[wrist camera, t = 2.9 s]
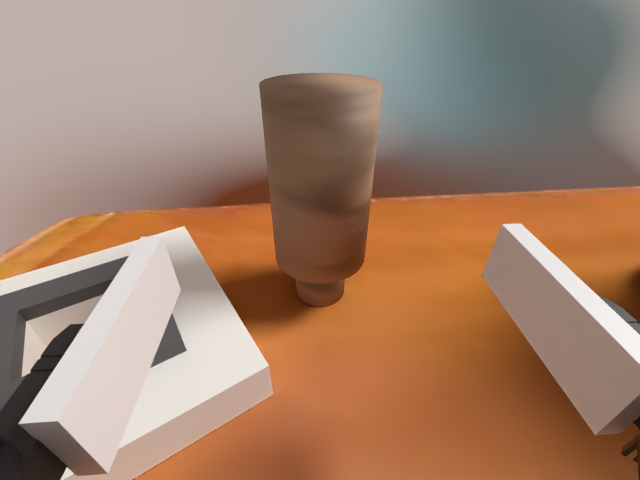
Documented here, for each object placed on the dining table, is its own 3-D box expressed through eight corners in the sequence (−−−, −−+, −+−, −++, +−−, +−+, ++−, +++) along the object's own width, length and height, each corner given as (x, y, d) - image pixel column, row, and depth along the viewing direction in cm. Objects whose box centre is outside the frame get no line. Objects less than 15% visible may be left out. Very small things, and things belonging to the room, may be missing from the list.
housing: (191, 252, 31) (181, 216, 29) (273, 394, 20) (267, 354, 17) (-46, 331, 23) (-87, 292, 21) (-141, 644, 12) (-253, 633, 10)
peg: (329, 254, 31) (334, 69, 22) (377, 296, 26) (409, 86, 17) (265, 281, 28) (239, 79, 19) (307, 334, 23) (300, 102, 14)
